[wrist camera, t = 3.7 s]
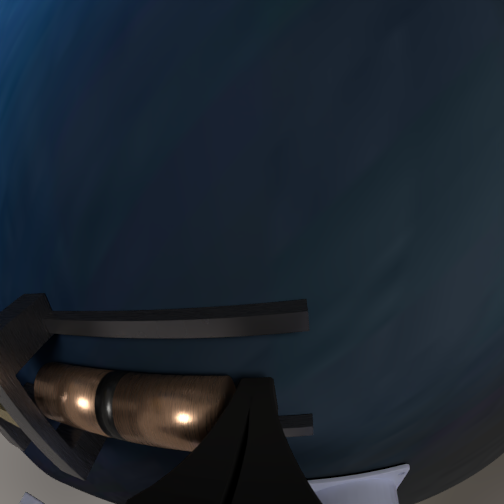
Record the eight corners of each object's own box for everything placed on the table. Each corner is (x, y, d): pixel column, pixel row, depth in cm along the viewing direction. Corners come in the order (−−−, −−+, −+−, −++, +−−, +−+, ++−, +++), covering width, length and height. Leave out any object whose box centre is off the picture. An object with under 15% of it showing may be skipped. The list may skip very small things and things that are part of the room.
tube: (222, 360, 11) (213, 443, 8) (240, 394, 13) (236, 460, 10) (47, 350, 12) (26, 402, 10) (81, 381, 14) (66, 429, 12)
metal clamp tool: (312, 432, 13) (314, 514, 8) (39, 400, 16) (9, 442, 11) (304, 273, 10) (317, 383, 5) (-20, 295, 13) (-67, 332, 8)
